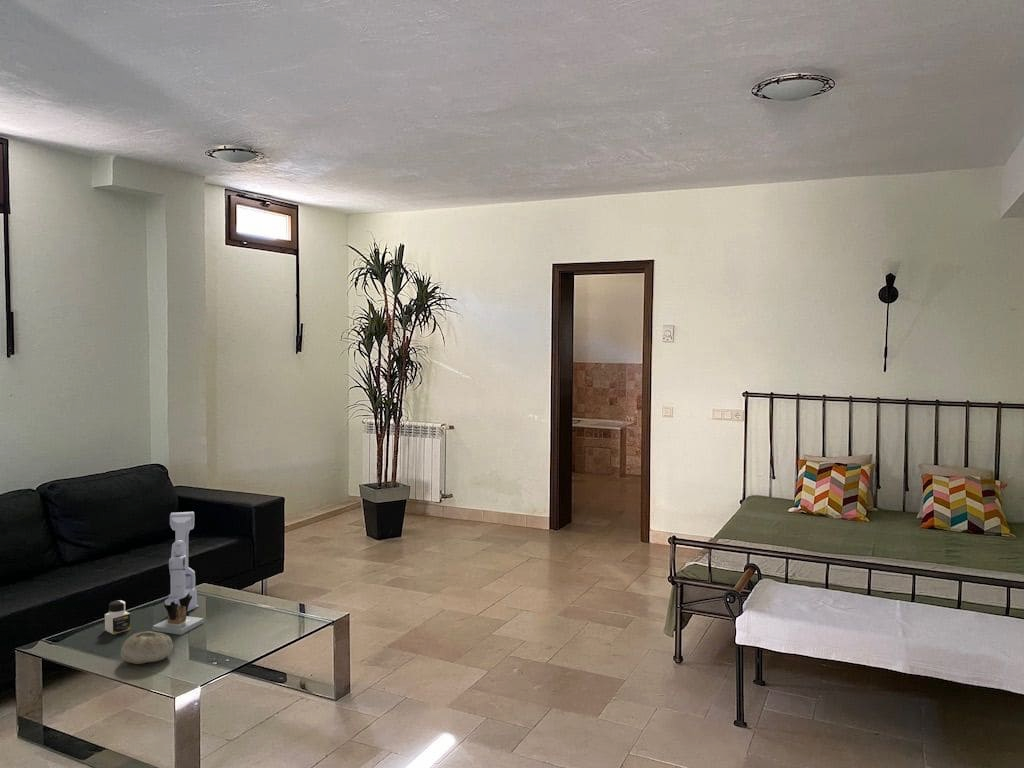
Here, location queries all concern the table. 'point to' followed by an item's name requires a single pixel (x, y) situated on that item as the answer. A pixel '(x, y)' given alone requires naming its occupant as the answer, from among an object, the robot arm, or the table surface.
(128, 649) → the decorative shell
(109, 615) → the medicine bottle
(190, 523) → the robot arm
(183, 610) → the walnut block
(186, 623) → the base board
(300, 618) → the table surface
